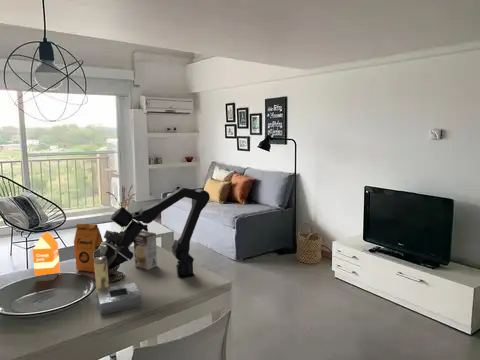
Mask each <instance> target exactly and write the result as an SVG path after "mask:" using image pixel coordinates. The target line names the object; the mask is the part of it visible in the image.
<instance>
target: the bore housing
mask: <svg viewBox="0 0 480 360" xmlns="http://www.w3.org/2000/svg"><path fill="white" fill-rule="evenodd" d="M141 296H142V295H141V294H140V291H139V289H138V286H137V284H136V282H130V283H125V284H120V285H119V284H118V285H112V286H109V287H106V288H100V289H98V294H97V299H98V307H99V312H100V313H99V314H100V315H106V314H111V313H116V312H121V311H126V310H131V309H136V308H141V307H142V298H141Z"/></svg>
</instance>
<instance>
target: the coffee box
mask: <svg viewBox="0 0 480 360" xmlns="http://www.w3.org/2000/svg"><path fill="white" fill-rule="evenodd" d="M156 235H157V234H156V233H155V232H150V231H148V232H147V231H144V230H142V231H141V232H140V234H139V235H138V236H137V238H136V239H135V241H136V242H135V243H134V242H133V251H134V253H133V256H134V267H137V268H140V269H144V270H147V271H148V270H151V269H153V268H155V267H157V266H158V259H157V258H158V257H157V253H158V252H157V236H156Z"/></svg>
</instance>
